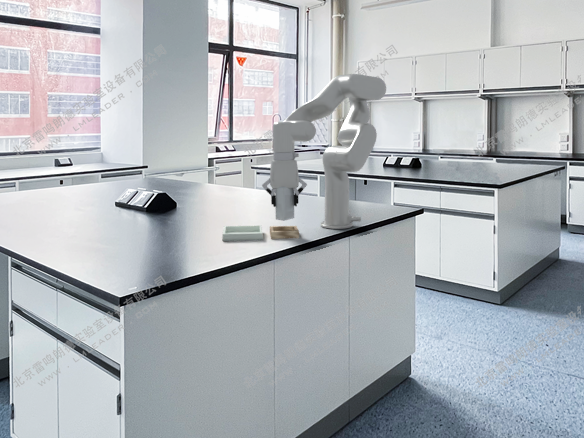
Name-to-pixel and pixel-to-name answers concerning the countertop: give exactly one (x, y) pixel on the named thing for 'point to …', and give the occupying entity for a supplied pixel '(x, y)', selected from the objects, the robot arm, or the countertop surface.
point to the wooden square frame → (284, 232)
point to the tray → (242, 233)
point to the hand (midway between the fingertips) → (284, 205)
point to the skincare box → (284, 203)
